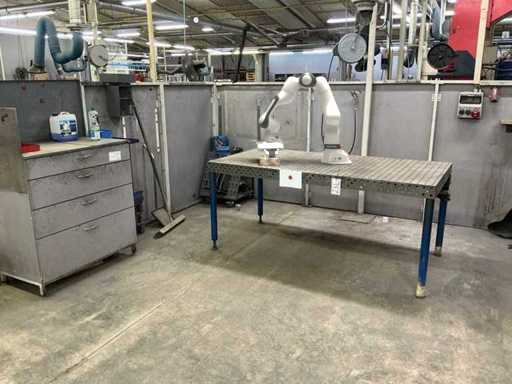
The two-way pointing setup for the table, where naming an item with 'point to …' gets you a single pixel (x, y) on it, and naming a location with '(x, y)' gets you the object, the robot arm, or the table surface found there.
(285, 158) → the table surface
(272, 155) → the bracket
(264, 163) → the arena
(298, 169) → the table surface
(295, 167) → the table surface
